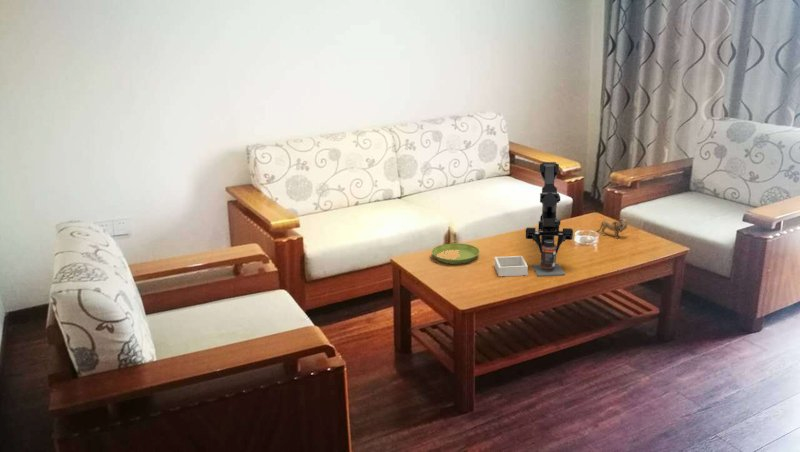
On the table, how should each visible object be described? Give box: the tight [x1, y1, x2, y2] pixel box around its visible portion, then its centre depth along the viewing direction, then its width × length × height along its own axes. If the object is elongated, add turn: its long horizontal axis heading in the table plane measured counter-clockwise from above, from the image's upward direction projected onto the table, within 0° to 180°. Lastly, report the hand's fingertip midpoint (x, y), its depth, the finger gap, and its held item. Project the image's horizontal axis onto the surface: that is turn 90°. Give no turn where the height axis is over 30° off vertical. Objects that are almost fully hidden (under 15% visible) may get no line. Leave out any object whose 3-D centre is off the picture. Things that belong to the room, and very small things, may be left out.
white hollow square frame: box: [494, 255, 529, 278], centre depth 273 cm, size 12×12×4 cm
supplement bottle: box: [540, 239, 557, 269], centre depth 269 cm, size 6×6×11 cm
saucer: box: [431, 243, 480, 265], centre depth 290 cm, size 21×21×3 cm
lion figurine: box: [596, 218, 629, 239], centre depth 306 cm, size 15×5×9 cm, turn 49°
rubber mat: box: [531, 263, 566, 277], centre depth 271 cm, size 11×11×1 cm
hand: (548, 252), depth 268 cm, fingers closed on supplement bottle, 6 cm apart
